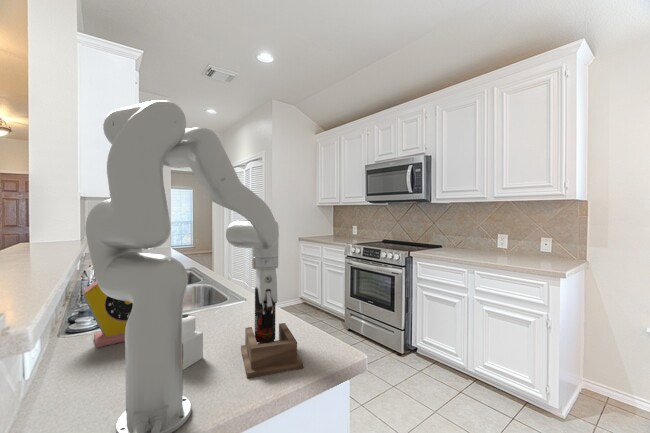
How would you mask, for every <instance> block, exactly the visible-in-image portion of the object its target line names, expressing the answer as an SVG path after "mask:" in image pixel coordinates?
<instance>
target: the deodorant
mask: <svg viewBox="0 0 650 433" xmlns="http://www.w3.org/2000/svg"><path fill="white" fill-rule="evenodd" d="M272 300H273V299H272ZM264 303H267V302H266V301H264ZM265 307H267V305H266V306H265ZM272 308H273V327H272V328H267V329H262V328H261V314H262V304H260V303H259V296H258V290H257V288H256V287H255V288H254V335H255V338H256V341H257V343H269V342H272V341H276V303H274V302H273V301H272Z"/></svg>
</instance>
